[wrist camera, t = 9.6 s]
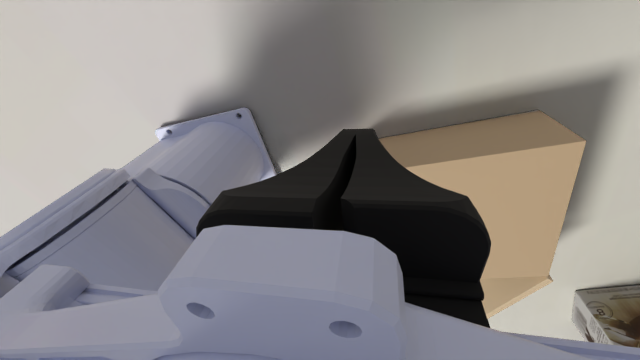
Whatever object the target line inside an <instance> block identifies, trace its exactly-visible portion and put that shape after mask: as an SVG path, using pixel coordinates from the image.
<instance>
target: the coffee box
mask: <svg viewBox="0 0 640 360" xmlns="http://www.w3.org/2000/svg"><path fill="white" fill-rule="evenodd" d="M572 322H573V323H574V324H575V326H576V327H577V329H578V330H579V332H580V333H581V335H582V337H583V338H584V340H585V341H586V342H593V343H602V344H610V345H619V346H627V347H636V348H640V285H634V286H623V287H612V288H601V289H590V290H579V291H575V297H574V305H573V314H572Z"/></svg>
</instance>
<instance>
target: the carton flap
mask: <svg viewBox="0 0 640 360" xmlns="http://www.w3.org/2000/svg"><path fill="white" fill-rule="evenodd" d="M551 282H553V280H552V278H551V277H550V275H548V276H541V277H517V278H493V279H480V283H481V286H482V288H483V291H484V299H483V301H482V304H483V307H484V310H485V313H486V316H487V319H488V318H490V317H492V316H493V315H495V314H497V313H499V312H500V311H502V310H504V309H506V308H507V307H509V306H511V305H513V304H514V303H516V302H518V301H520V300H521V299H523V298H525V297H527V296H528V295H530V294H532V293H534V292H535V291H537V290H539V289H541V288H543V287H544V286H546V285H548V284H550V283H551Z"/></svg>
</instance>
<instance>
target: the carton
mask: <svg viewBox="0 0 640 360" xmlns="http://www.w3.org/2000/svg"><path fill="white" fill-rule="evenodd" d="M379 140H380V142H381V143H382V145H383V146H384V147H385V149H386V150H387V151H388V152H389V154H390V155H391V156H392V157H393V158H394V159H395V160H396V161H397V162H398V163H400V164H401V165H402V166H403V167H405V168H406V169H407V170H409V171H410V172H412V173H414V174H415V175H417V176H419V177H420V178H422V179H424V180H426V181H428V182H430V183H433V184H435V185H437V186H439V187H442V188H445V189H448V190H451V191H454V192H457V193H460V194H463V195H466V196H468V197H469V199H470V200H471V202H472V203H473V205H474V206H475V208H476V209H477V211H478V213H479V214H480V216H481V218H482V220H483V222H484V224H485V226H486V228H487V231H488V233H489V237H490V240H491V249H490V255H489V257H488V260H487V263H486V265H485V268H484V271H483V273H482V276H481V279H493V278H517V277H541V276H548V275H549V271H550V268H551V264H552V261H553V257H554V254H555V250H556V247H557V243H558V240H559V236H560V233H561V229H562V225H563V222H564V218H565V215H566V211H567V208H568V204H569V201H570V197H571V194H572V190H573V187H574V183H575V179H576V176H577V172H578V169H579V165H580V162H581V158H582V155H583V151H584V148H585V144H586V140H584V139H583V138H581V137H580V136H578V135H577V134H575V133H574V132H572V131H571V130H569V129H568V128H566V127H564V126H563V125H561V124H560V123H558V122H557V121H555V120H554V119H552V118H551V117H549V116H548V115H546V114H545V113H543V112H541V111H540V110H536V111H530V112H525V113H519V114H514V115H508V116H502V117H497V118H491V119H486V120H480V121H475V122H469V123H463V124H458V125H452V126H447V127H441V128H435V129H430V130H424V131H419V132H413V133H407V134H402V135H396V136H391V137H385V138H380V139H379Z"/></svg>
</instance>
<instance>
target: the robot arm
mask: <svg viewBox="0 0 640 360" xmlns="http://www.w3.org/2000/svg"><path fill="white" fill-rule="evenodd" d="M237 113H239V114H241V116H242V118H241V117H239V116H238V115H237ZM169 130H171V131H172V133H171V132H170V131H169ZM155 134H156V136H157V137H158V139H159V140H160V141H159V142H158V143H156V144H155V145H153V146H152V147H151V148H149V149H148V150H146V151H145V152H144V153H142V154H141V155H139V156H138V157H136V158H135V159H134V160H132V161H131V162H129V163H128V164H127V165H125V166H124V167H122V168H120V169H118V170H115V169H107V168H105V169H103V170H101V171H100V172H98V173H97V174H95V175H94V176H92V177H91V178H89V179H88V180H86V181H85V182H83V183H81V184H80V185H78V186H77V187H75V188H74V189H72V190H71V191H69V192H68V193H66V194H65V195H63V196H62V197H60V198H59V199H57V200H56V201H54V202H53V203H51V204H50V205H48V206H47V207H45V208H44V209H42V210H41V211H39V212H38V213H36V214H35V215H33V216H32V217H30V218H29V219H27V220H26V221H24V222H22V223H21V224H19V225H18V226H16V227H15V228H13V229H12V230H10V231H9V232H7V233H6V234H4V235H3V236H1V237H0V360H640V348H636V347H627V346H619V345H610V344H602V343H593V342H585V341H576V340H568V339H559V338H551V337H542V336H533V335H525V334H516V333H508V332H500V331H497V330H494V329H491V328H490V326H489V323H488V319H487V316H486V313H485V310H484V307H483V304H482V301H483V299H484V291H483V288H482V286H481V283H480V279H481V276H482V273H483V271H484V268H485V265H486V263H487V260H488V257H489V255H490V249H491V240H490V237H489V233H488V231H487V228H486V226H485V224H484V222H483V220H482V218H481V216H480V214H479V213H478V211H477V209H476V208H475V206H474V205H473V203H472V202H471V200H470V199H469V197H468V196H466V195H463V194H460V193H457V192H454V191H451V190H448V189H445V188H442V187H439V186H437V185H435V184H433V183H430V182H428V181H426V180H424V179H422V178H420V177H419V176H417V175H415V174H414V173H412V172H410V171H409V170H407V169H406V168H405V167H403V166H402V165H401V164H400V163H398V162H397V161H396V160H395V159H394V158H393V157H392V156H391V155H390V154H389V152H388V151H387V150H386V149H385V147H384V146H383V145H382V143H381V142H380V140H379V138H378V137H377V135H376V132H375V130H374V129H343V130H342V131H341V132H340V133H339V134H338V135H337V136H335V137H334V138H333V139H332V140H331V141H330V142H329V143H328V144H327V145H325V146H324V147H323V148H322V149H320V150H319V151H318V152H316V153H315V154H314V155H313V156H311V157H310V158H308V159H307V160H305V161H304V162H302V163H300V164H298V165H297V166H295V167H293V168H291V169H289V170H287V171H284V172H282V173H280V174H278V175H277V174H276V172H275V169H274V167H273V164H272V162H271V159H270V157H269V155H268V152H267V150H266V147H265V145H264V143H263V140H262V138H261V135H260V133H259V130H258V128H257V126H256V123H255V121H254V118H253V116H252V114H251V112H250V110H249V109H248V108H240V109H236V110H231V111H227V112H223V113H219V114H215V115H210V116H206V117H202V118H198V119H194V120H190V121H185V122H181V123H177V124H173V125H169V126H164V127H160V128H158V129H156V131H155Z"/></svg>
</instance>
